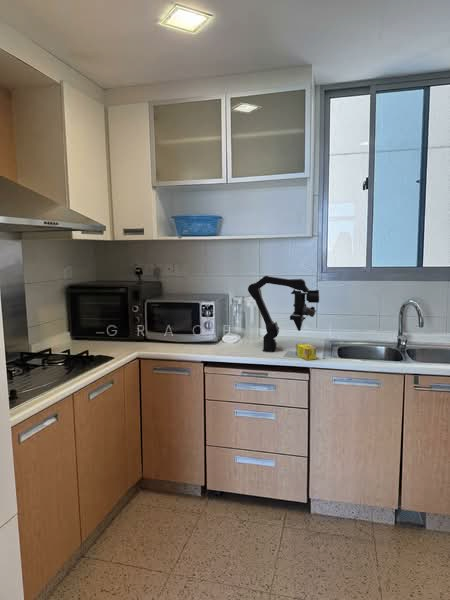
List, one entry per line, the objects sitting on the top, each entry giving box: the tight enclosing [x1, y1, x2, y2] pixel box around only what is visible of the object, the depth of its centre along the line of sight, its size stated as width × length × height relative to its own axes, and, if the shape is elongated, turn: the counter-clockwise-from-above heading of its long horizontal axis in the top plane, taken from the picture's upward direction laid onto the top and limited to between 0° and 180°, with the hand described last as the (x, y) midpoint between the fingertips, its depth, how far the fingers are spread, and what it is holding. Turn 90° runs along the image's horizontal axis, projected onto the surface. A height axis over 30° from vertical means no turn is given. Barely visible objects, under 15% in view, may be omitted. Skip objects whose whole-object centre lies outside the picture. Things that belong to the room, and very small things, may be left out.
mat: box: [283, 350, 303, 359], centre depth 219 cm, size 12×12×1 cm
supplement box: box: [296, 343, 318, 361], centre depth 213 cm, size 6×6×11 cm
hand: (299, 330), depth 223 cm, fingers closed
